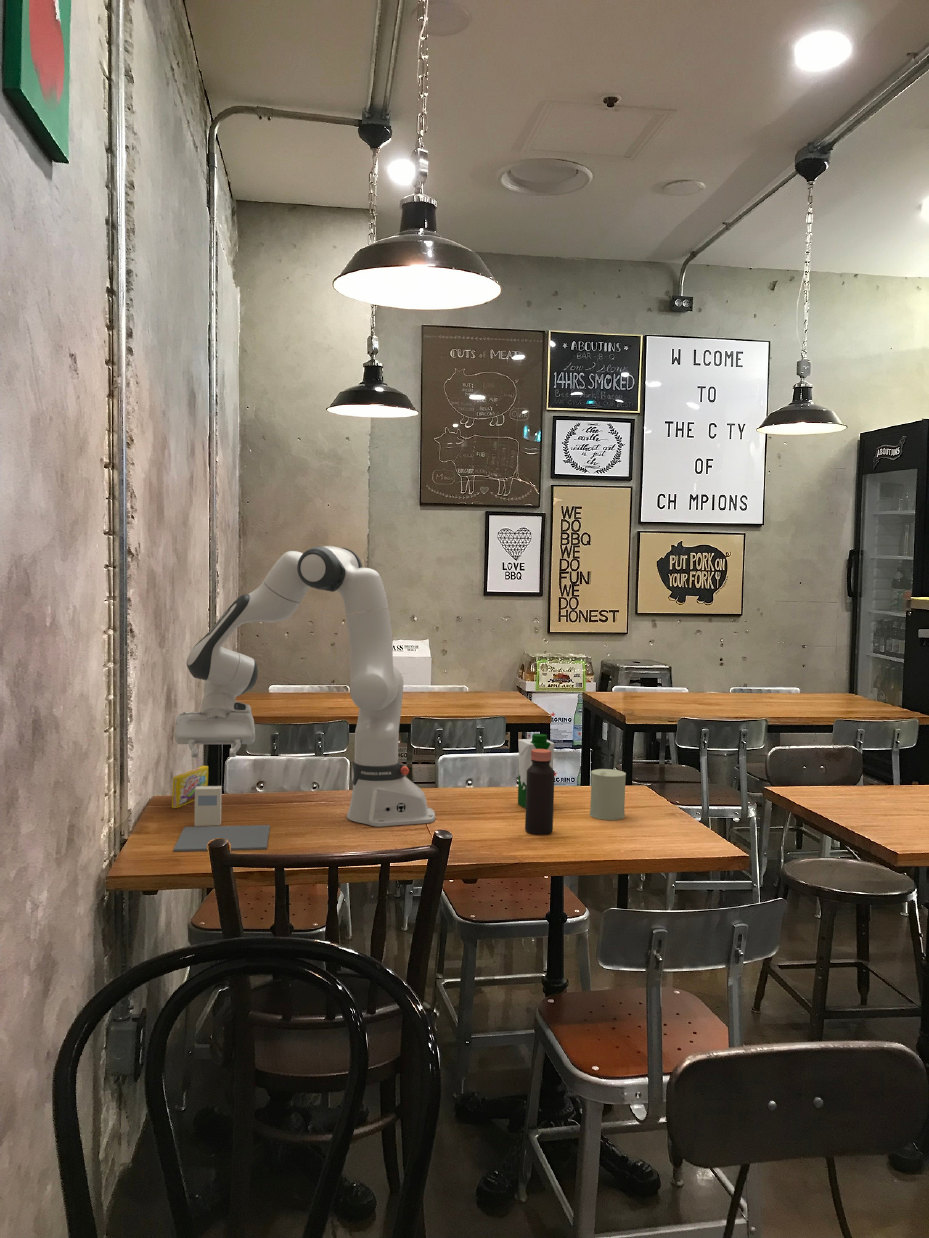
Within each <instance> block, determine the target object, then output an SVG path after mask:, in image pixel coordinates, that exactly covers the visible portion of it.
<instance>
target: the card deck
mask: <svg viewBox="0 0 929 1238" xmlns="http://www.w3.org/2000/svg"><path fill="white" fill-rule="evenodd" d="M222 789H223V786H222V785H208V786H196V788H195V801H194V824H193V827H200V826H221V823H222V796H223V794H222V791H223V790H222Z"/></svg>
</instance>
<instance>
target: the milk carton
mask: <svg viewBox="0 0 929 1238" xmlns="http://www.w3.org/2000/svg"><path fill="white" fill-rule="evenodd" d="M531 735H532V736H531V738H523V739H522V738H521V739H520V738H519V739H518V740H517V741H518V778H517V779H518V781H517V782H518V783H517V788H518V789H517V805H519V806H521V807H522V808H523V809H525V810H526V781H527V770H528V768H529V767H530V766H531V765H532V761H531V760H532V759H531V750H533V749H547V750H550V751H551V760H550V761H551V762H550V767H551V768H552V769H553V770H554V767H553V766H554V765H553V764H554V753H555V752H554V751H555V742H553V741H551V740H549V739H548V735H547V734H544V733H533V734H531Z"/></svg>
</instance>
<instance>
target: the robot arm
mask: <svg viewBox="0 0 929 1238" xmlns="http://www.w3.org/2000/svg"><path fill="white" fill-rule="evenodd" d="M311 588H313V589H315V590H320V591H326V592H327V591H328V592H331V593H333V592H337V593H339V594H340V596H341V597H342V600H343V606H344V607H343V608H344V615H345V620H346V628H347V635H348V641H349V642H348V644H349V676H350V677H349V678H350V679H349V681H350V686H349V687H350V689H349V693H350V694H349V695H350V699H351V700H352V702H353V704H354V705H355V706H356V707H358V708H359V709H358V715H357V716H358V717H357V722H356V726H355V732H354V761H353V762H352V767H351V782H352V792H351V798H350V799H351V800H350V803H349V804H350V805H349V808H348V811H347V814H346V818H347V819H348V820H349V821H352V822H355V823H359V824H365V825H368V826H372V827H392V826H404V825H405V826H406V825H407V826H408V825H417V824H418V825H419V824H429V823H430V824H431V823H433V822H434V821H435V820H436V813H435V811H434V809H433V808H431V807H429V806H428V804H427V803H428V802H427V798H426V795H425V793H424V791H423V790H422V789H421V787H419V786H418V785H416V784H415V783H414V782H413V781H411V779H409V778H408V777H406V776H407V775H408V774H409V773H410V769H409V768H408V766H406V765H405V764H404V763H403V762H400V761H399V732H400V724H401V715H402V708H403V707H402V706H403V694H404V679H403V676H402V673H401V672H400V670H399V669H398V668H397V667H396V666H394V661H393V660H394V659H393V657H394V656H393V644H394V643H393V641H394V637H393V630H392V629H393V628H392V623H391V616H390V615H391V614H390V609H389V603H388V597H387V593H386V590H385V586H384V583H383V579H382V578H381V575H380V574H379V572H378V571H377V570H375V569H373V568H369V567H363V565H362V561H361V559H360V557H359V556H358V554H357V553H355V552H354V551H353V550H351V549H348V548H346V547H337V546H333V545H324V546H313V547H311V548H309V549H307V550H306V551H304V552H300V551H297V550H289V551H285V552H284V553H283V554H282V555H281V557H279V558H278V559H277V560H276V562H275V563H274V564H273V566H272V567H271V569H270V570H269V571H268V573H267V574H266V577H265V578H264V580H263V581H262V582H261V584H260V585H259V586H258V587H256V589H254V590H253V591H251V592H250V593H245V594H241V595H239V597H238V598H236V599H235V601H234V602H232V603H231V604H230V606H229V607H228V608H227V609H226V611H224V612H223V614H222V615H221V616H220V617H219V619H218V620H217V622H215V623H214V625H213V626H212V627H211V628H210V629H209V631H208V632H207V633H206V634H205V636H203V638H201V639H200V640H199V641H198V642H197V643H196V644H194V646H193V648H192V649H191V651H189V654H188V655H187V659H186V667H187V669H188V671H189V673H190V674H191V676H192V677H193V678H195V679H198V680H203V681H204V682H203V697H202V700H201V708H200V711H191V712H189V711H184V712H182V713H180V714H178V715H177V716H176V719H175V724H176V727H175V730H174V731H175V732H174V740H175V742H176V743H177V745H187V746H188V749H189V750H190V751H191V752H190V753H191V754H190V755H191V758H198V757H199V748H197V747H196V748H195V746H196V745H234V746H233V747H231V748H229V757H230V758H236V755H237V752H238V751H239V750H240V748H241V747H242V745H252V744H254V742H256V729H255V727H256V726H255V719H254V717H253V714H252V707H251V705H250V704H247V703H245V702H240V701H237V700H236V699H237V696H241V695H244V694H245V693H247V692H248V691H251V689H253V687H255V685H256V683H257V679H258V677H259V676H258V673H259V669H258V663H257V661H256V660H255V658H252V657H251V656H248V655H245V654H243V653H240V652H237V651H234V650H231V649H229V648H226V647H223V644H225V642H226V641H227V640H228V639H229V638H230V636H231V635H232V634H233V633H234V631H235V630H236V629H237V628H238V627H239V626H242V625H243V624H244V625H245V624H248V623H279V622H282V621H285V620H287V619H290V618H291V617H292V615H294V613H295V612H296V611H297V610H298V608H299V606H300V604H301V603H302V601H303V599H304V598H305V596H306V594H307V592H308V591H309V590H310V589H311Z"/></svg>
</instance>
